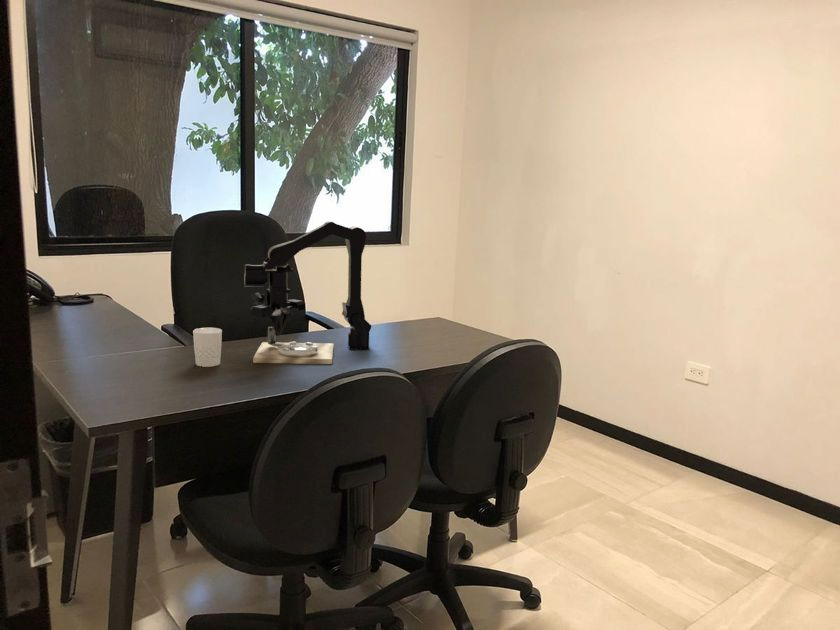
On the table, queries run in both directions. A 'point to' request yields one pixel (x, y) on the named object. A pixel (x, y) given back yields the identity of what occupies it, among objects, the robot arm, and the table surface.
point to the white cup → (207, 346)
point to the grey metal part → (291, 346)
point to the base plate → (271, 355)
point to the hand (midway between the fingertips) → (278, 334)
